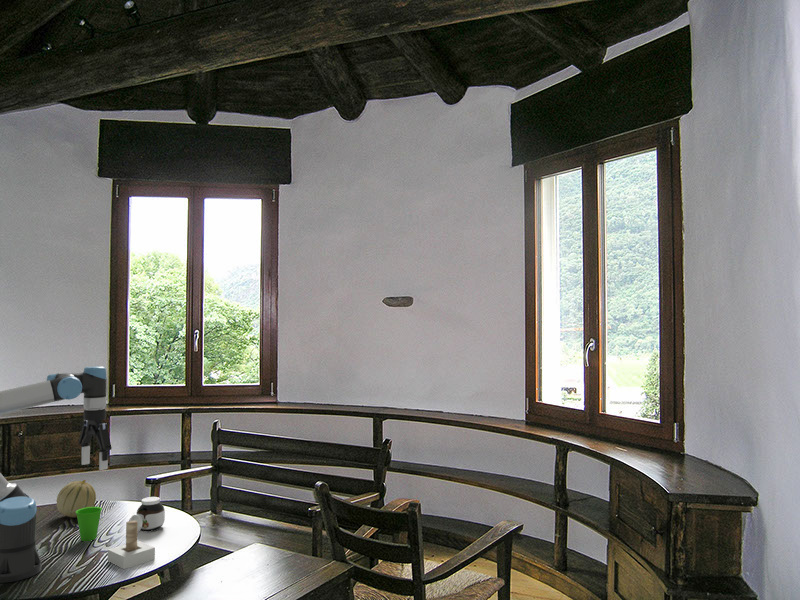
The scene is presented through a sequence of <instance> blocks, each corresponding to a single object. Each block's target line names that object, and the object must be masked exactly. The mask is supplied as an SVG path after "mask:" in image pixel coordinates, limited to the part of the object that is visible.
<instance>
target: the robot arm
mask: <svg viewBox="0 0 800 600" xmlns="http://www.w3.org/2000/svg"><path fill="white" fill-rule="evenodd" d="M107 381H108V378H107V368H106V367H105V366H99V365H96V366H85V367H84V369H83V371H82V372H74V373H73V372H71V373H69V372H68V373H67V372H65V373H59V372H58V373H51V374H48V375H47V376H46V380H45V381H40V382H36V383H32V384H31V383H30V384H27V385H23V386H18V387H15V388H9V389H5V390H1V391H0V416H2V415H6V414H9V413H13V412H17V411H22V410H26V409H31V408H34V407H39V406H42V405H47V404H51V403H53V402H54V403H55V402H59V401H63V400H69V401H70V400H74V399H77V398H78V397H79V396H80V394H83V409H84V410H83V420H82V427H81V430H80V434H79V438H78V445H80V447H81V465H82V466H83V465H84V466H85V465H89V464H91V460H90V459H91V458H90V457H91V454H90V453H91V440H92V438H93V437H94V438H96V441H97V445H98V446H99V451H98V452H99V458H98V459H99V460H98V463H99V464H98V465H99V466H98V471H104V470H108V469H109V465H108V463H109V451H110V450H112V443H111V438H110V434H109V430H108V423H107V422H106V423H105V422H104V423H103V420H106V418H107V408H106V407H107V401H108V398H107V387H108V386H107V383H108V382H107ZM37 510H38V507H37V502H36V500H35V499H34V498H33V497H30V495H28V494H26V492H25V493H24V491H23V490H22V489H21V488H20V487H19V484H17V483H13V482H8V480H7V479H6V477H5V476H3V474H2V472H0V584H7V583H13V582H18V581H22V580H23V581H24V580H25V579H29V578H32V577H33V576H35V575H37V574H39V573H40V572H41V571H42V559H41V557H40V554H39V552H38V549H37V547H36V544H37V543H36V542H37V541H36V539H37Z"/></svg>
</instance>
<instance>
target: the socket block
mask: <svg viewBox="0 0 800 600" xmlns="http://www.w3.org/2000/svg"><path fill="white" fill-rule="evenodd" d="M155 548H156V547H155V546H152V545H149V544H148V543H145V542H143V541H140V540H137V550H134V551H131V552H126V543H125V544H122V545H118V546H115V547H112V548H109V549H107V562H109V563H110V562H111V563H110V564H112V563H113V564H112V565H114V564H115V566H116V565H117V566H116V567H118V566H119V567H118V568H121V569H123V570H126V569H129V568H130V569H131V568H132V567H135V566H138V565H141V564H144V563H147V562H151V561H154V560H155V559H156V549H155Z"/></svg>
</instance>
